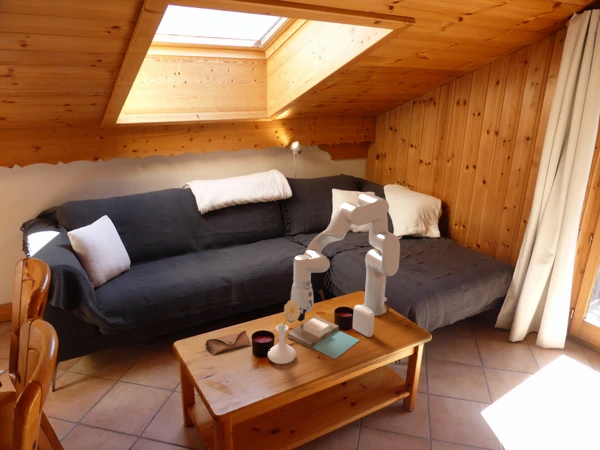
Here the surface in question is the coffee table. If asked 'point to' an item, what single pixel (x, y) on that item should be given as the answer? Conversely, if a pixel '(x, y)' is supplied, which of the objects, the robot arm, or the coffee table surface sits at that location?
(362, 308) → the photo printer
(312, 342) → the riser
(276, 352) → the flower in vase
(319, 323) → the white flat block
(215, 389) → the coffee table surface
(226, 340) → the sunglasses case
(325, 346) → the mat
